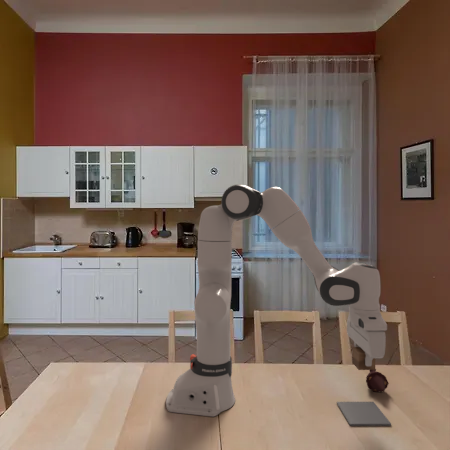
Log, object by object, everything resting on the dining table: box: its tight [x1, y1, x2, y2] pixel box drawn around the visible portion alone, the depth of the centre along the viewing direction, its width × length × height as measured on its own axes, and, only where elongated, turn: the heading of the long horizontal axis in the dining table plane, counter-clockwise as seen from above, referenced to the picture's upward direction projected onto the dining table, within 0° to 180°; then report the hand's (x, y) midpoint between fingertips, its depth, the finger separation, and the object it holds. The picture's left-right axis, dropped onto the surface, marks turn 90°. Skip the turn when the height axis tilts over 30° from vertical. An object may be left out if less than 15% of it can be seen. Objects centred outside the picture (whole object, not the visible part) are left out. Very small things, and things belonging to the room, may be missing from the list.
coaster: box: [336, 401, 392, 427], centre depth 109 cm, size 12×12×1 cm
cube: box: [351, 346, 376, 371], centre depth 109 cm, size 5×5×5 cm
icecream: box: [365, 368, 390, 393], centre depth 123 cm, size 7×7×15 cm
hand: (363, 360), depth 109 cm, fingers closed on cube, 5 cm apart
